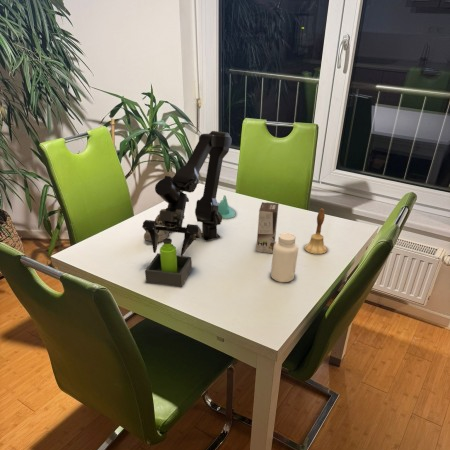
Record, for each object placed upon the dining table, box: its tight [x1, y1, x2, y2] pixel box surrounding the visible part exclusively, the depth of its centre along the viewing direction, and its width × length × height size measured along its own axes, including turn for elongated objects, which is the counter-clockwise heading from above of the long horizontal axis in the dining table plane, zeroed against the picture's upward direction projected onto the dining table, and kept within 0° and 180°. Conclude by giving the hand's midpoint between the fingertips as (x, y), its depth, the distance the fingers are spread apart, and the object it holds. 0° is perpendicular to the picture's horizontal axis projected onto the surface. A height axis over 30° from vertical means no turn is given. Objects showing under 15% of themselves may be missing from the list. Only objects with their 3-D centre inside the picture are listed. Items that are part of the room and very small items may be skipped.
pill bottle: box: [270, 232, 299, 283], centre depth 134 cm, size 8×8×15 cm
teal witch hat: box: [217, 195, 236, 220], centre depth 183 cm, size 12×20×9 cm, turn 29°
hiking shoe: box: [143, 208, 170, 243], centre depth 162 cm, size 9×21×12 cm
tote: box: [144, 252, 193, 288], centre depth 137 cm, size 12×12×4 cm
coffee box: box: [255, 201, 279, 254], centre depth 152 cm, size 9×6×16 cm
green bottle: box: [159, 237, 178, 273], centre depth 134 cm, size 5×5×12 cm
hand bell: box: [304, 207, 328, 255], centre depth 151 cm, size 8×8×16 cm
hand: (167, 254), depth 133 cm, fingers open, 9 cm apart
